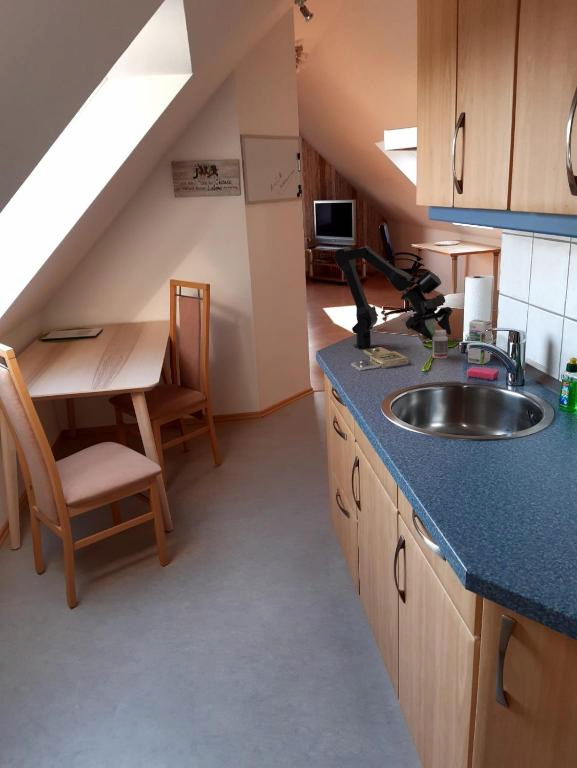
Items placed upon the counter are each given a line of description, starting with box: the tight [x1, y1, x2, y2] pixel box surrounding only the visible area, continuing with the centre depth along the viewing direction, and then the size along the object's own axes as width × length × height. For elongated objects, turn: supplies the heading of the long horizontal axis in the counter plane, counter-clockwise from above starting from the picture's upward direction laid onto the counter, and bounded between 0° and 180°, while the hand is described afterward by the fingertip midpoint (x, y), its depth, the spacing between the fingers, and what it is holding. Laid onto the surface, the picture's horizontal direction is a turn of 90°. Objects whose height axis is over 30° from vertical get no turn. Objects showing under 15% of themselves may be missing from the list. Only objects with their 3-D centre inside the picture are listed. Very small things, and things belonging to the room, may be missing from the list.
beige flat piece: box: [350, 346, 409, 371], centre depth 219 cm, size 18×18×3 cm
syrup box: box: [467, 318, 493, 365], centre depth 209 cm, size 6×6×14 cm
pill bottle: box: [431, 328, 449, 360], centre depth 218 cm, size 5×5×10 cm
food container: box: [417, 319, 437, 345], centre depth 241 cm, size 12×6×10 cm, turn 179°
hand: (440, 336), depth 217 cm, fingers open, 9 cm apart
